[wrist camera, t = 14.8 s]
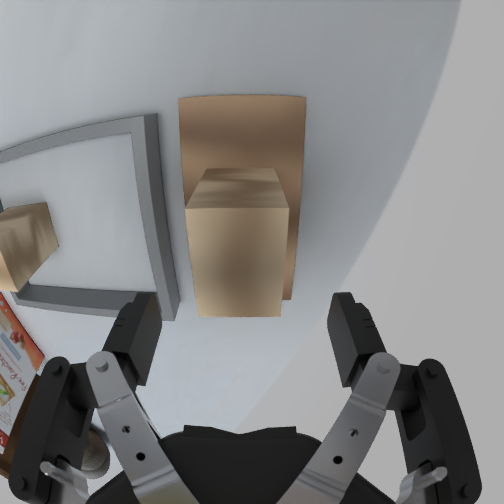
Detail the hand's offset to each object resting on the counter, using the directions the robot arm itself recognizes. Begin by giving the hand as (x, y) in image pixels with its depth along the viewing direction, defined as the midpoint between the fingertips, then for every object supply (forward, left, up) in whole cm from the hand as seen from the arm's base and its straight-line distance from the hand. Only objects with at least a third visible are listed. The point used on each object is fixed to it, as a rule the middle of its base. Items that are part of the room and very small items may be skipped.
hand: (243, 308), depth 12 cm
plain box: (+1, -23, -12) cm, 26 cm away
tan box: (0, 0, -11) cm, 11 cm away
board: (0, 0, -12) cm, 12 cm away
